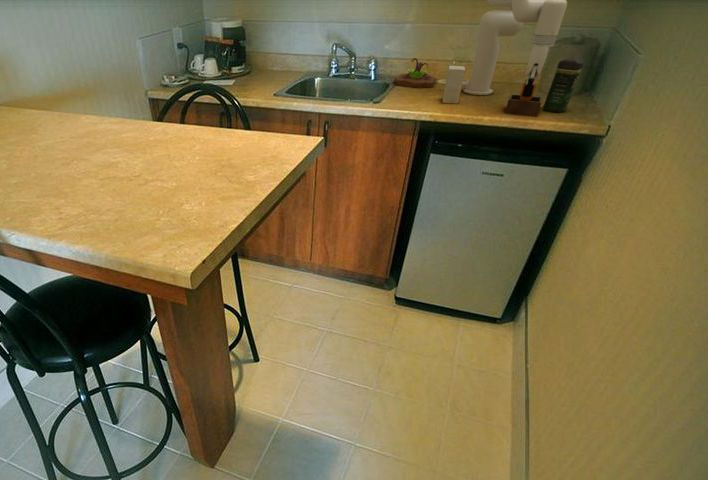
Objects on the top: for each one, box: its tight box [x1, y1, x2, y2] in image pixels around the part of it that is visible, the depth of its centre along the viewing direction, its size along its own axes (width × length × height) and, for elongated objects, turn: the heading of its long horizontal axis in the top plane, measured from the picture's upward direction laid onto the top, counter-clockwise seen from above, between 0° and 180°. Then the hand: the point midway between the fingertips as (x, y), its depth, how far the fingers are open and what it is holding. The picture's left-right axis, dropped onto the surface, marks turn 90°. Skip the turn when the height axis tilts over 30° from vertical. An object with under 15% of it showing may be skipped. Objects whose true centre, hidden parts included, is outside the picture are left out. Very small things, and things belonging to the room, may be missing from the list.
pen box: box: [504, 93, 543, 117], centre depth 159 cm, size 11×9×5 cm
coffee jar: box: [542, 56, 585, 113], centre depth 157 cm, size 10×8×19 cm
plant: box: [394, 57, 437, 89], centre depth 199 cm, size 20×20×11 cm
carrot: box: [519, 73, 541, 101], centre depth 156 cm, size 5×5×15 cm
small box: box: [442, 65, 466, 104], centre depth 171 cm, size 8×6×13 cm
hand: (526, 94), depth 157 cm, fingers closed on carrot, 4 cm apart
